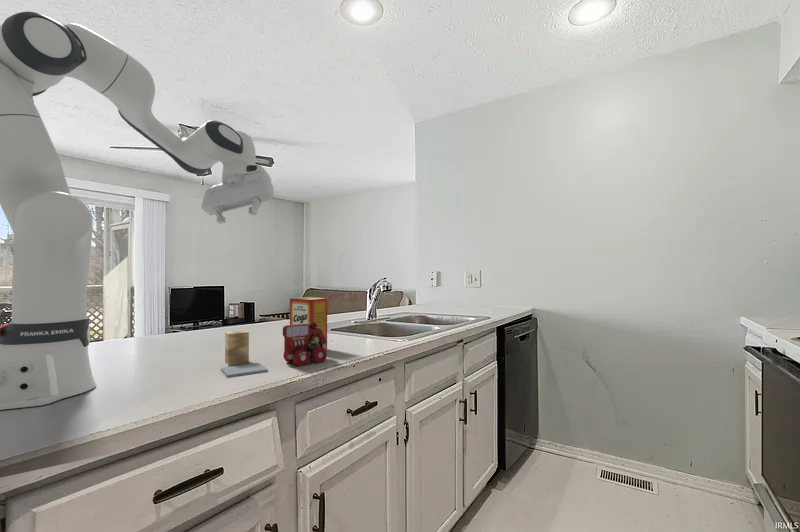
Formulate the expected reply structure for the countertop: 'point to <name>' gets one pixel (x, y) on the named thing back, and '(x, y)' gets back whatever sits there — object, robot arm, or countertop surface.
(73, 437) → the countertop surface
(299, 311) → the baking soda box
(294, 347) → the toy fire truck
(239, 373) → the mat
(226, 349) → the block
